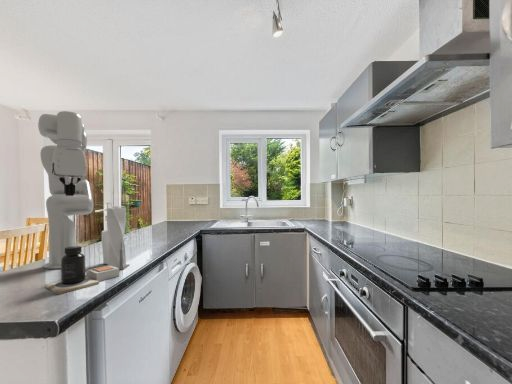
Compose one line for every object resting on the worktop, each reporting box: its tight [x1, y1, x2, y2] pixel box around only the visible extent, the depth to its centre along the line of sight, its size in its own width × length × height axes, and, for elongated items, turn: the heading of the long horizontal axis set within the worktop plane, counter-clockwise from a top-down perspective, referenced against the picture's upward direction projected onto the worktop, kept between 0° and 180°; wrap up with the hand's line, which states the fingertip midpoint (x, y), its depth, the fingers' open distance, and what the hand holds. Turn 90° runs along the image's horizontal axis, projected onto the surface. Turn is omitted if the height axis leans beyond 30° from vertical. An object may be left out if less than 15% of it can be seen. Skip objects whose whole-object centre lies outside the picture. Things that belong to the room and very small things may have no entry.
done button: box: [92, 265, 113, 272], centre depth 100 cm, size 5×5×2 cm
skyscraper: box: [106, 202, 130, 271], centre depth 113 cm, size 8×8×28 cm
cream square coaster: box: [44, 275, 100, 295], centre depth 91 cm, size 12×12×1 cm
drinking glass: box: [100, 229, 110, 265], centre depth 121 cm, size 7×7×15 cm
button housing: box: [86, 264, 120, 282], centre depth 100 cm, size 8×8×3 cm
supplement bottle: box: [60, 245, 86, 285], centre depth 92 cm, size 7×7×12 cm
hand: (69, 195), depth 98 cm, fingers closed
